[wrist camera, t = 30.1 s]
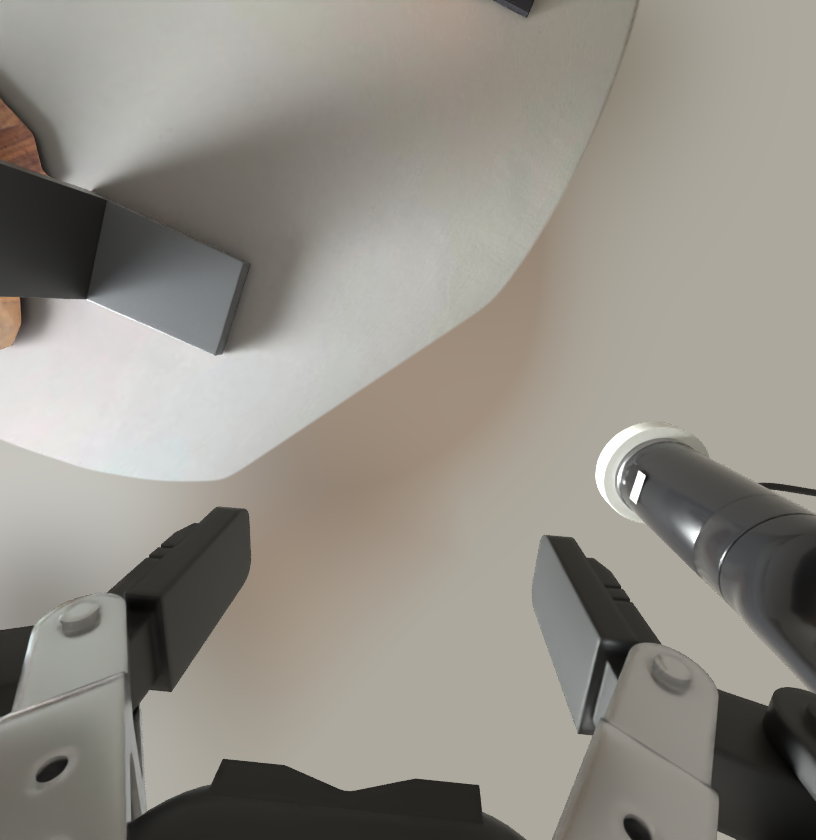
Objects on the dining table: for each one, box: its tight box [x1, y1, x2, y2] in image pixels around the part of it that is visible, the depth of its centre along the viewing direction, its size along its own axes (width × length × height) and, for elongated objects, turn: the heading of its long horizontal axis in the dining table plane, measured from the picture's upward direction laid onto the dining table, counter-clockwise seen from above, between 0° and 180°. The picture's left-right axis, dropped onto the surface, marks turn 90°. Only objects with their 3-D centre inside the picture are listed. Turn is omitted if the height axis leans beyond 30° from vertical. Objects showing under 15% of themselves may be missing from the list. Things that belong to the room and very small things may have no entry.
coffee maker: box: [0, 159, 250, 356], centre depth 29 cm, size 17×10×26 cm, turn 66°
